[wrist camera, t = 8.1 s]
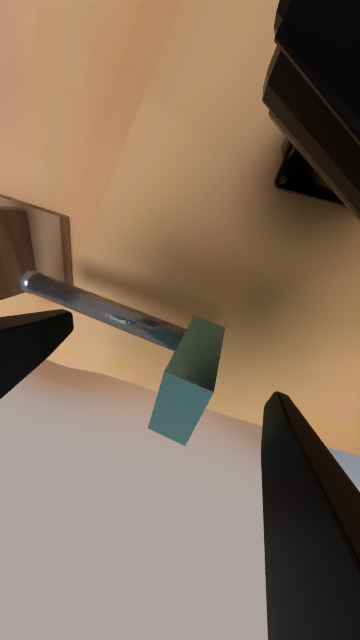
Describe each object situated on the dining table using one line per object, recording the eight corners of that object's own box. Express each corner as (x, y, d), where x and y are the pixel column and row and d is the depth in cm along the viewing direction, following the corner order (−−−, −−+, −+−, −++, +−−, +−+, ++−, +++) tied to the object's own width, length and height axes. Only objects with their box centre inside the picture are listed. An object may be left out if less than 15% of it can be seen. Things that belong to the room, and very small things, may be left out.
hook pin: (226, 320, 14) (213, 392, 8) (206, 366, 17) (185, 445, 11) (30, 248, 17) (-90, 263, 11) (38, 298, 19) (-55, 332, 13)
